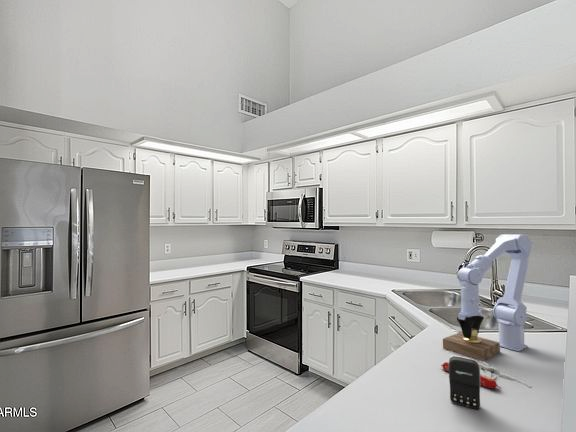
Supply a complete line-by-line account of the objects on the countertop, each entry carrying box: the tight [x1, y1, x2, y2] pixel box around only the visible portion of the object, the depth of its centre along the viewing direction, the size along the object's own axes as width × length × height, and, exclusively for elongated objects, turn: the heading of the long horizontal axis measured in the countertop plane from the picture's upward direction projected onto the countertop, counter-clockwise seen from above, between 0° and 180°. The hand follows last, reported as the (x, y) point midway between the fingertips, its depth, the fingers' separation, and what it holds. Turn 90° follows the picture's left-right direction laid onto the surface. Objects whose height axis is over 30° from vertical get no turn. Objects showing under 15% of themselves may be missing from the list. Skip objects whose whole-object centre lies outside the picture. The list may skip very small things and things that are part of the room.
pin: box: [463, 328, 481, 344], centre depth 113 cm, size 6×6×7 cm
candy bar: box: [440, 361, 500, 389], centre depth 90 cm, size 16×4×3 cm, turn 31°
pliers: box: [477, 360, 532, 389], centre depth 92 cm, size 10×2×15 cm
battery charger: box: [448, 355, 481, 410], centre depth 76 cm, size 7×4×11 cm, turn 58°
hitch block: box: [442, 331, 501, 362], centre depth 113 cm, size 14×14×4 cm
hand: (470, 336), depth 113 cm, fingers open, 5 cm apart
